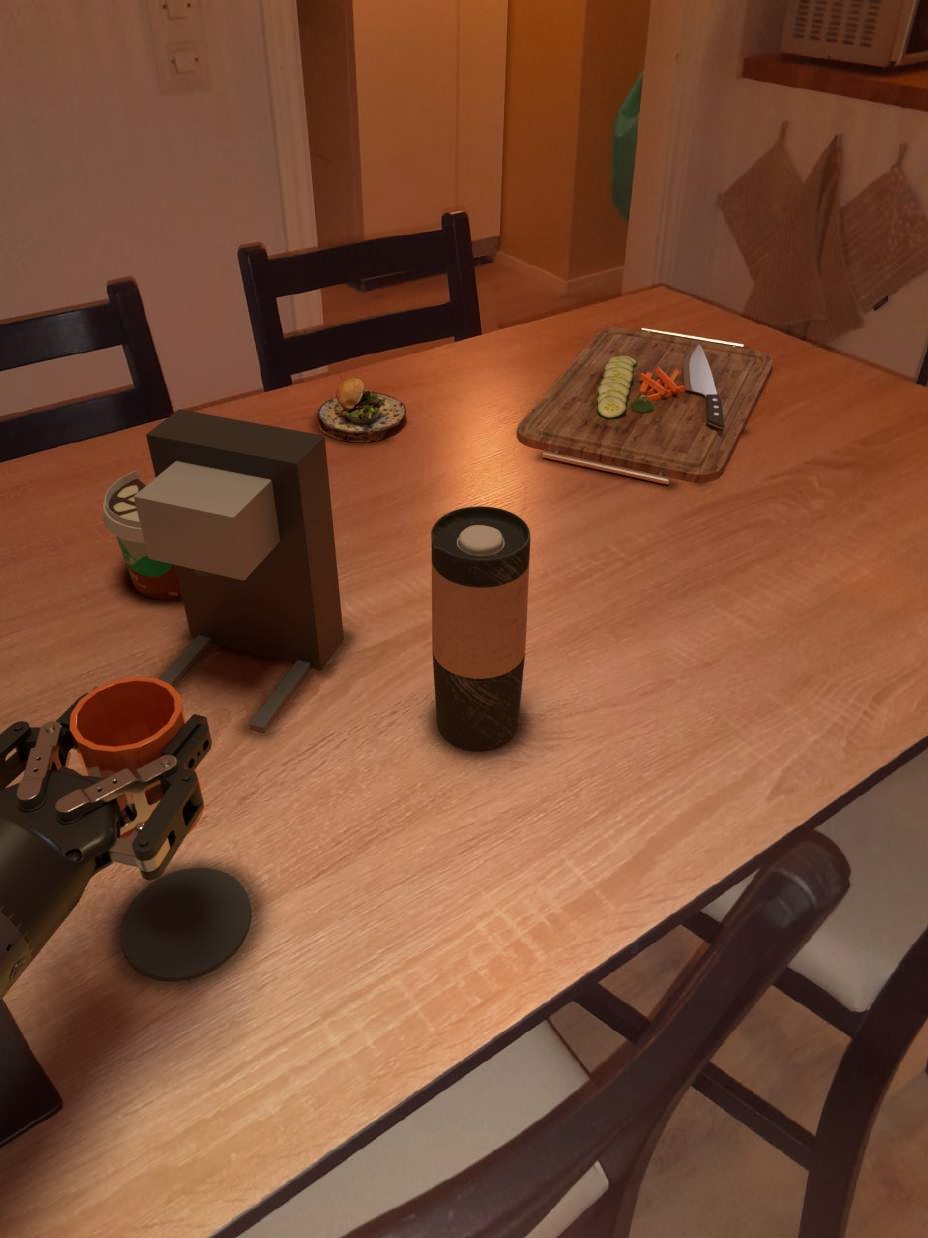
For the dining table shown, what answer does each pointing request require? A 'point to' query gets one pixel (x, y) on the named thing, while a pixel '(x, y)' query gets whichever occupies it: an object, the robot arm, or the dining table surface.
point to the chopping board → (649, 405)
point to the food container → (137, 541)
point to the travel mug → (479, 624)
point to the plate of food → (359, 413)
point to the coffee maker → (246, 542)
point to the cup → (126, 727)
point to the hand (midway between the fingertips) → (153, 711)
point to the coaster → (186, 924)
